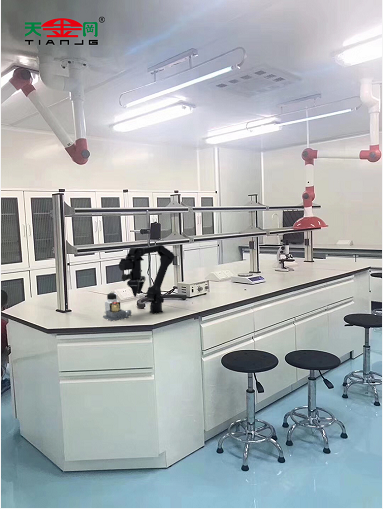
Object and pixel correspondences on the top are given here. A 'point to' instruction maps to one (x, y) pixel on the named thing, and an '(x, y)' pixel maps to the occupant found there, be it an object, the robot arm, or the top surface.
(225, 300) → the top surface
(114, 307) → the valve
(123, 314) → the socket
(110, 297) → the medicine bottle
